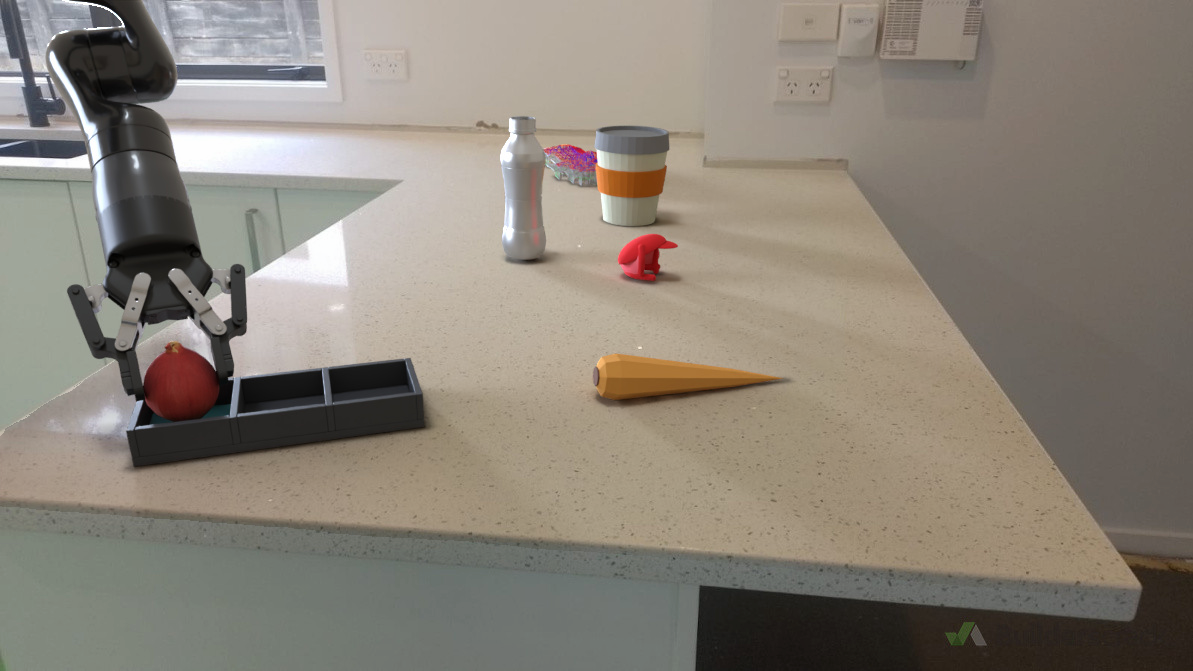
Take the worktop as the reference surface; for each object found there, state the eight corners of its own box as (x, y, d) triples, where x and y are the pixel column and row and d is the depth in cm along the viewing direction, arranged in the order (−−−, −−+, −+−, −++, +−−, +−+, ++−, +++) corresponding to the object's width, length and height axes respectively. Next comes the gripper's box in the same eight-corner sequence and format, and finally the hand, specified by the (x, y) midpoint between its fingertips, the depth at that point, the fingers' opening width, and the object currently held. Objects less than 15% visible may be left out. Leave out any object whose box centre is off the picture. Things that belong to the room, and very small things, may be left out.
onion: (155, 414, 74) (138, 330, 71) (226, 405, 76) (212, 323, 73) (147, 446, 69) (128, 358, 66) (223, 435, 71) (208, 349, 68)
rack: (133, 467, 68) (125, 431, 67) (147, 420, 75) (140, 387, 74) (424, 426, 75) (422, 393, 74) (412, 388, 82) (410, 357, 81)
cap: (622, 285, 112) (624, 241, 110) (613, 271, 118) (615, 229, 115) (680, 283, 114) (682, 240, 111) (668, 269, 119) (671, 228, 117)
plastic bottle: (504, 265, 119) (501, 121, 111) (499, 252, 125) (496, 114, 118) (549, 263, 120) (549, 121, 113) (542, 250, 126) (542, 114, 119)
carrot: (594, 409, 80) (604, 378, 77) (586, 375, 83) (595, 343, 80) (783, 409, 86) (799, 379, 83) (769, 377, 89) (784, 347, 86)
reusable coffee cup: (680, 219, 145) (685, 131, 139) (633, 233, 136) (637, 139, 131) (624, 206, 153) (627, 123, 147) (577, 218, 144) (579, 130, 138)
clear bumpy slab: (531, 160, 192) (531, 137, 190) (595, 158, 196) (595, 135, 194) (560, 188, 165) (560, 162, 163) (633, 186, 169) (634, 160, 167)
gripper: (42, 201, 68) (76, 391, 63) (232, 184, 74) (276, 355, 70) (57, 247, 74) (89, 424, 69) (232, 228, 81) (272, 387, 76)
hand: (183, 388), depth 69 cm, fingers closed on onion, 5 cm apart
